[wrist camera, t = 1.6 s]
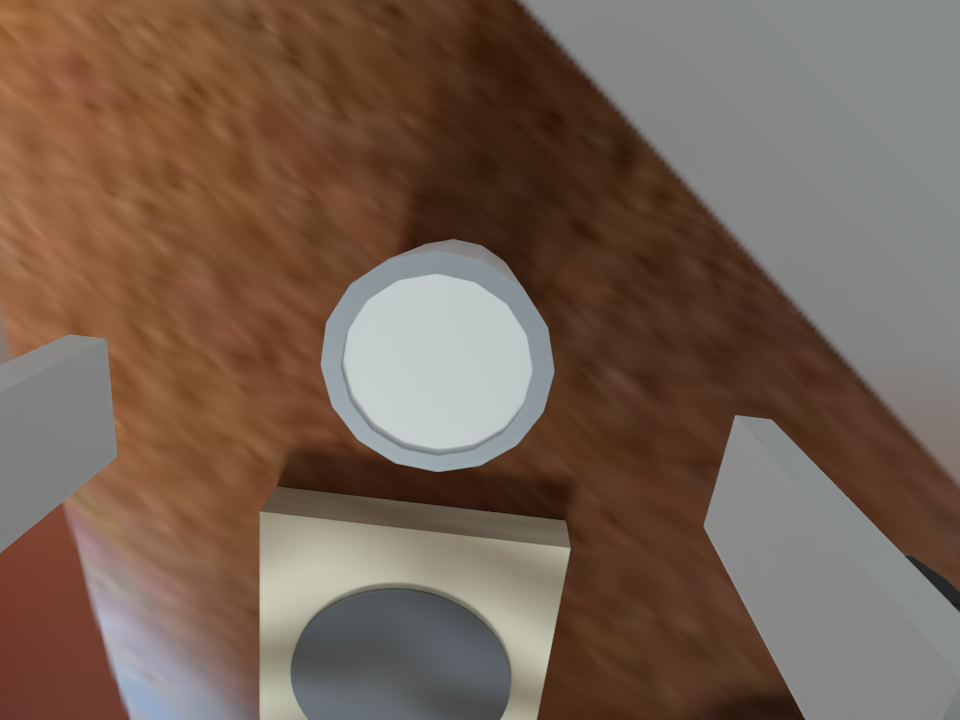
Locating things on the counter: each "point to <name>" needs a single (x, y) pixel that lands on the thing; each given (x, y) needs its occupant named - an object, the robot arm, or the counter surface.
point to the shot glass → (438, 357)
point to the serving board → (404, 609)
